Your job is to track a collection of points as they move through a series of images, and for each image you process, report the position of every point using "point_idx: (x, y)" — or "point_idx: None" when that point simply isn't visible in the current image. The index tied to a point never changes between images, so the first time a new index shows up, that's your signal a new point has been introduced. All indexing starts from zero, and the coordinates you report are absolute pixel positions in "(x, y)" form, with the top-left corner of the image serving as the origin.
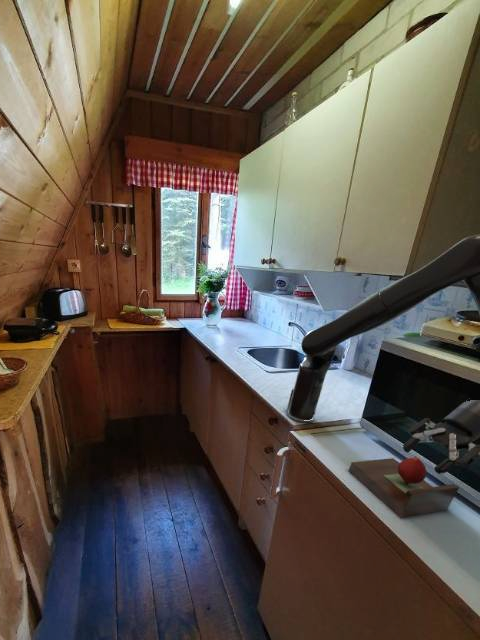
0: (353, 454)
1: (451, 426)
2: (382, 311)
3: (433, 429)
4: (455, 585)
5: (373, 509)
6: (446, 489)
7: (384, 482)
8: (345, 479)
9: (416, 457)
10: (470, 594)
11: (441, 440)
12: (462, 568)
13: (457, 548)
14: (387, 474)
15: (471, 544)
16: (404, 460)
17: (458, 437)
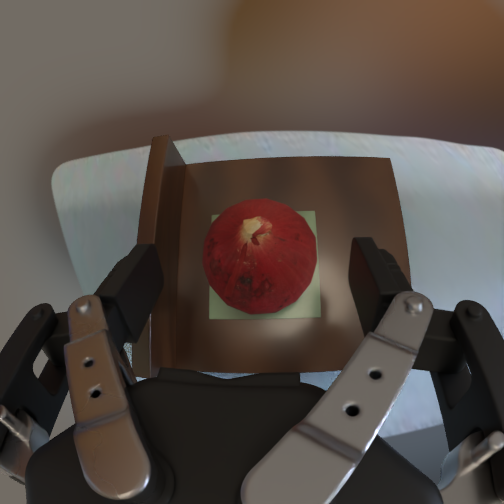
0: (461, 264)
1: None
2: None
3: (395, 458)
4: (65, 168)
5: (223, 136)
6: None
7: (279, 186)
8: (340, 141)
9: (253, 220)
10: (52, 179)
11: (215, 396)
12: (69, 209)
13: (90, 245)
14: (321, 237)
15: (86, 294)
16: (294, 215)
17: (91, 492)
